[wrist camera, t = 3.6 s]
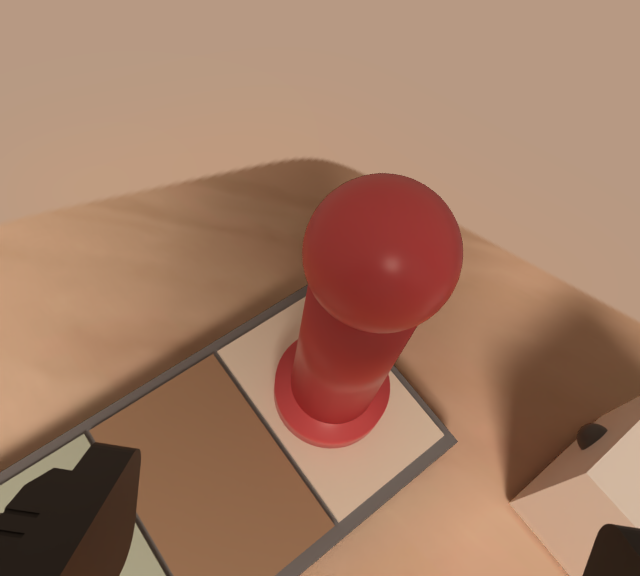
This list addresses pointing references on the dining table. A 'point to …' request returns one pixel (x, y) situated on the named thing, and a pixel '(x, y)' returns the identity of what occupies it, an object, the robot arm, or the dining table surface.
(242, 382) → the board
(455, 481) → the dining table surface
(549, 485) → the die
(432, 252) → the pawn
